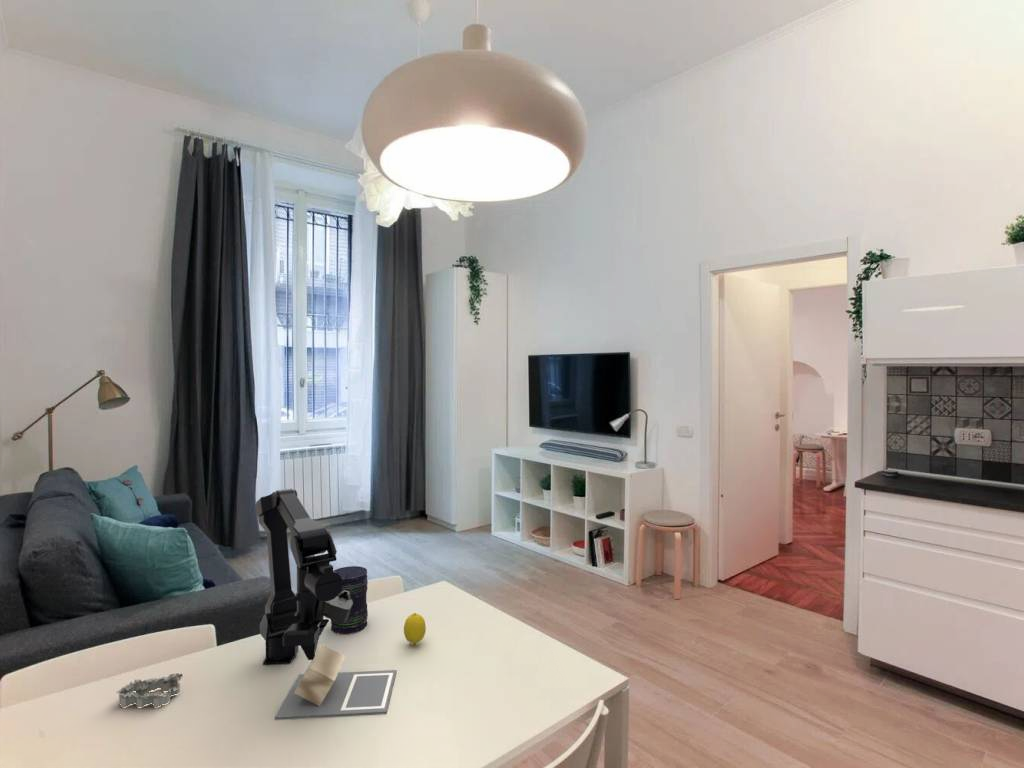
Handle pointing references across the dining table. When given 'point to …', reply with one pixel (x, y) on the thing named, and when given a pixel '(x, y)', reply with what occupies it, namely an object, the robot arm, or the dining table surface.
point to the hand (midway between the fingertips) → (311, 659)
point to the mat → (344, 696)
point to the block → (320, 675)
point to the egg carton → (147, 685)
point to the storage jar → (357, 587)
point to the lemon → (414, 628)
